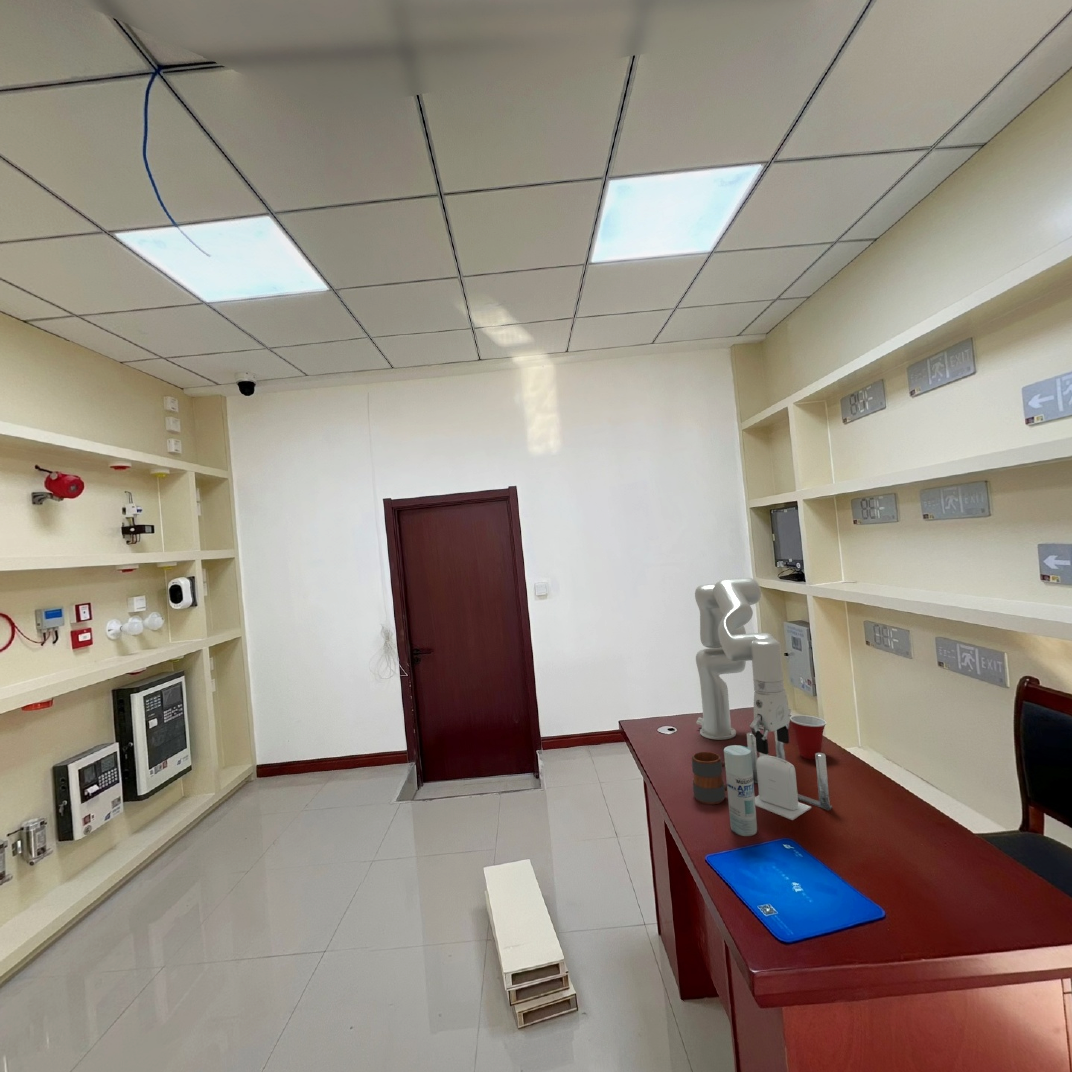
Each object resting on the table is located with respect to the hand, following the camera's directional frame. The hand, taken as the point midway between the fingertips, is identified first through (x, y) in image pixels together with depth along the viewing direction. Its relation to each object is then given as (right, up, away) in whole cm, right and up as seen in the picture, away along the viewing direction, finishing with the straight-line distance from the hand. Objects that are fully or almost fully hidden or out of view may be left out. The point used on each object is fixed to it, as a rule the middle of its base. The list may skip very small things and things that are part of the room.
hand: (773, 747), depth 149 cm
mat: (+1, -15, -1) cm, 15 cm away
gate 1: (+7, -15, +19) cm, 25 cm away
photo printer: (+1, -15, -1) cm, 15 cm away
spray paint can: (-12, -17, -11) cm, 23 cm away
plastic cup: (+25, -14, +29) cm, 40 cm away
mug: (-14, -17, +6) cm, 22 cm away
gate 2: (+7, -15, +3) cm, 17 cm away
